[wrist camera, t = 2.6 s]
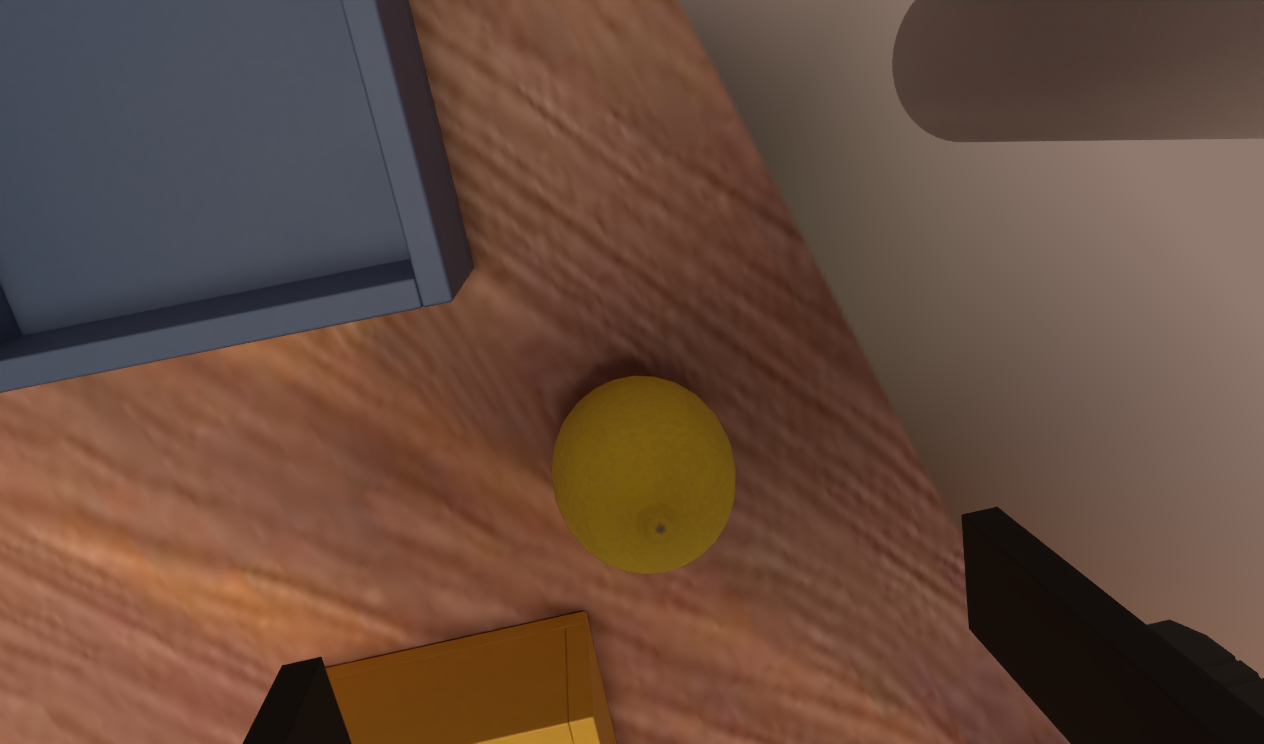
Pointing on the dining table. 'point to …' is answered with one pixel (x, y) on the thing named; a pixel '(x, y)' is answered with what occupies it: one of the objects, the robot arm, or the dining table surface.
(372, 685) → the yellow bin
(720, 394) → the dining table surface
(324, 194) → the blue bin
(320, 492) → the dining table surface
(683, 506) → the lemon
